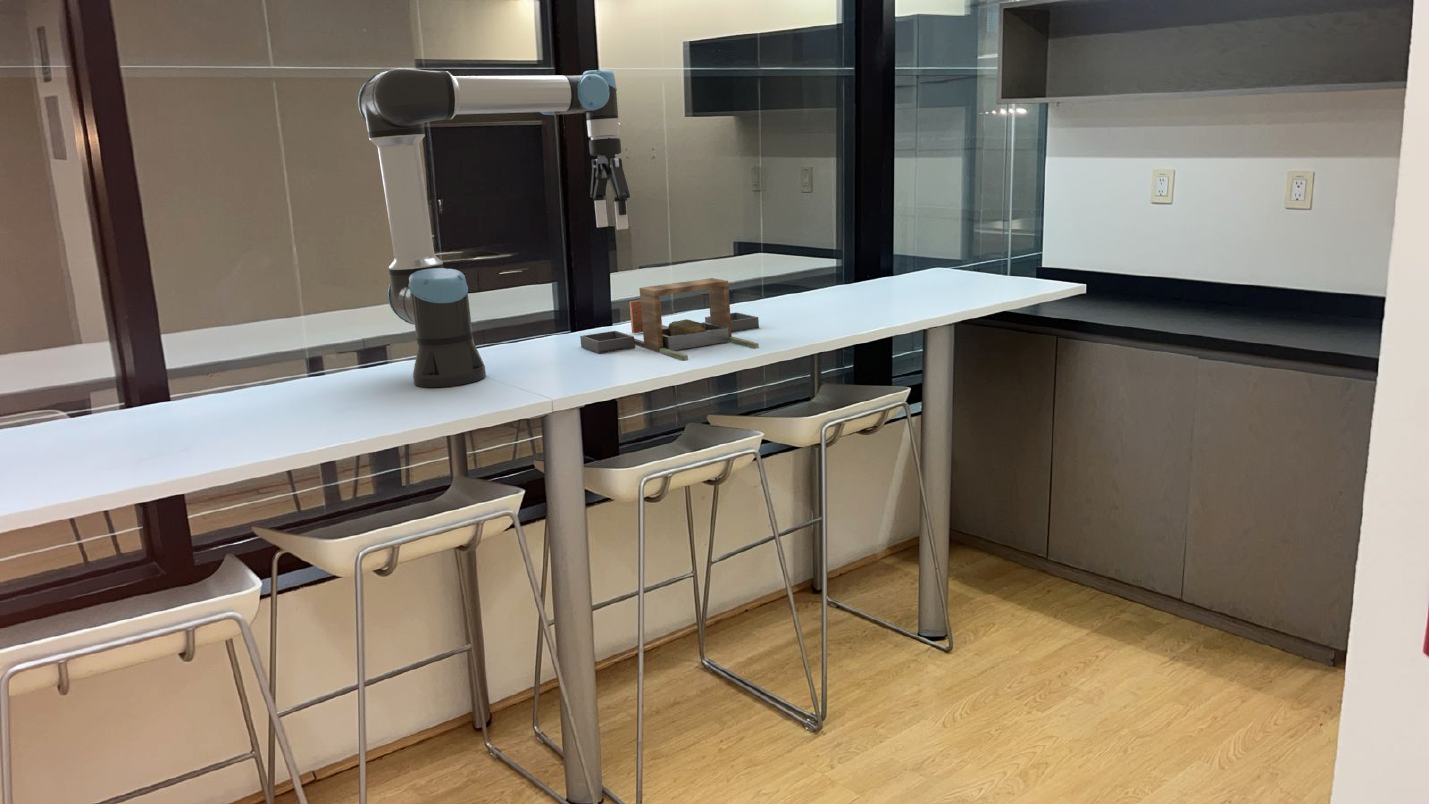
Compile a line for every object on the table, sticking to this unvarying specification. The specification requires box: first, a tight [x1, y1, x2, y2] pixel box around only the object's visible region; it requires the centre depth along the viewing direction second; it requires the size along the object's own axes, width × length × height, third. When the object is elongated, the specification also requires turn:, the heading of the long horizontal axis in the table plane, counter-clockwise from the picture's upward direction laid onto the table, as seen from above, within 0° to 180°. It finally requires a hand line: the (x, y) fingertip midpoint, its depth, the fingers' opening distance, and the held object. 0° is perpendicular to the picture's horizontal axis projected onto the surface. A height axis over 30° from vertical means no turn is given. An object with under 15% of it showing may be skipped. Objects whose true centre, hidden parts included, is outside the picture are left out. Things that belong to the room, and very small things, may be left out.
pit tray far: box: [704, 311, 760, 333], centre depth 267 cm, size 9×11×3 cm
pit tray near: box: [579, 330, 636, 355], centre depth 252 cm, size 9×11×3 cm
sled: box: [629, 297, 729, 351], centre depth 257 cm, size 16×30×8 cm, turn 28°
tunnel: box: [634, 277, 759, 361], centre depth 250 cm, size 19×37×14 cm, turn 28°
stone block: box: [668, 319, 706, 336], centre depth 249 cm, size 6×12×5 cm, turn 25°
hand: (612, 228), depth 257 cm, fingers open, 13 cm apart
